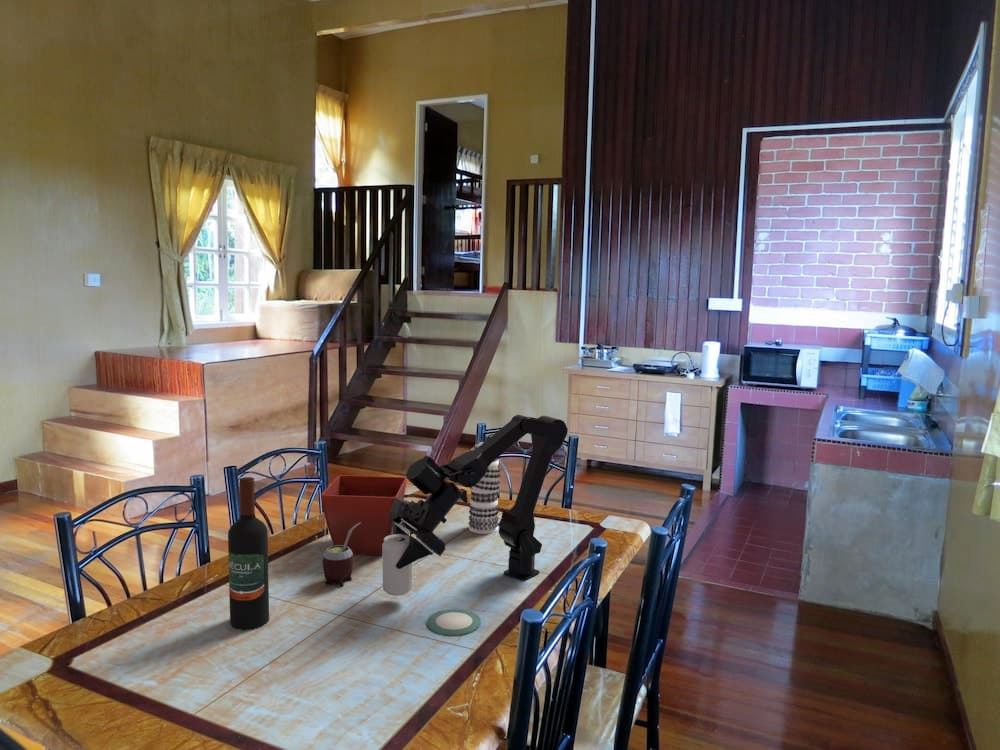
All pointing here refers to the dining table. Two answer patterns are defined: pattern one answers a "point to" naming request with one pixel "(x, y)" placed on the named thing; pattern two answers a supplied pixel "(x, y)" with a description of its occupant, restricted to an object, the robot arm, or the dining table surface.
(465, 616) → the coaster
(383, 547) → the beverage can
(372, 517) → the plant pot
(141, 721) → the dining table surface
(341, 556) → the mate gourd
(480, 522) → the decorative candle
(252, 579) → the wine bottle
